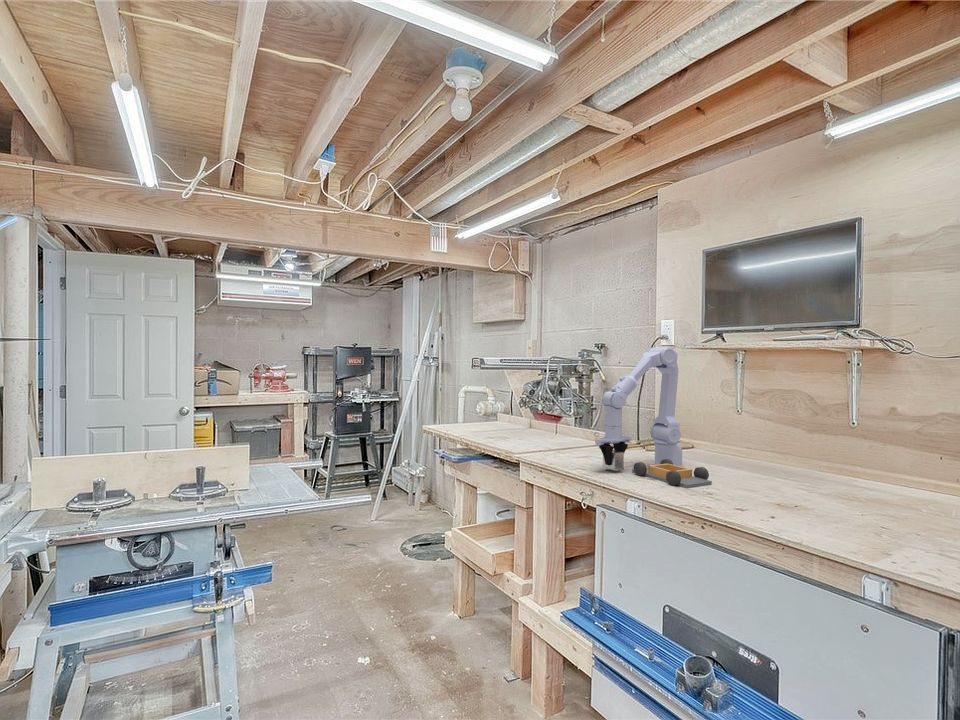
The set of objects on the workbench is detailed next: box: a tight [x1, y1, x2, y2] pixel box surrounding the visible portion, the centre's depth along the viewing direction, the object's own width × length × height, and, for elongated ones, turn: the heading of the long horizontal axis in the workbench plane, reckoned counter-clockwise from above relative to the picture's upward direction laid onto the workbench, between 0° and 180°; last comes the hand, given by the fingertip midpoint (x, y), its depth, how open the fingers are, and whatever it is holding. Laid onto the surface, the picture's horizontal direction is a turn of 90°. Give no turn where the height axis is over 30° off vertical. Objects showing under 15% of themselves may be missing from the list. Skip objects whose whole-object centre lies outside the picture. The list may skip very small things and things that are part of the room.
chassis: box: [631, 459, 713, 489], centre depth 160 cm, size 14×23×4 cm, turn 27°
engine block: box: [602, 449, 625, 471], centre depth 170 cm, size 4×6×6 cm, turn 27°
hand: (613, 464), depth 170 cm, fingers closed on engine block, 4 cm apart
